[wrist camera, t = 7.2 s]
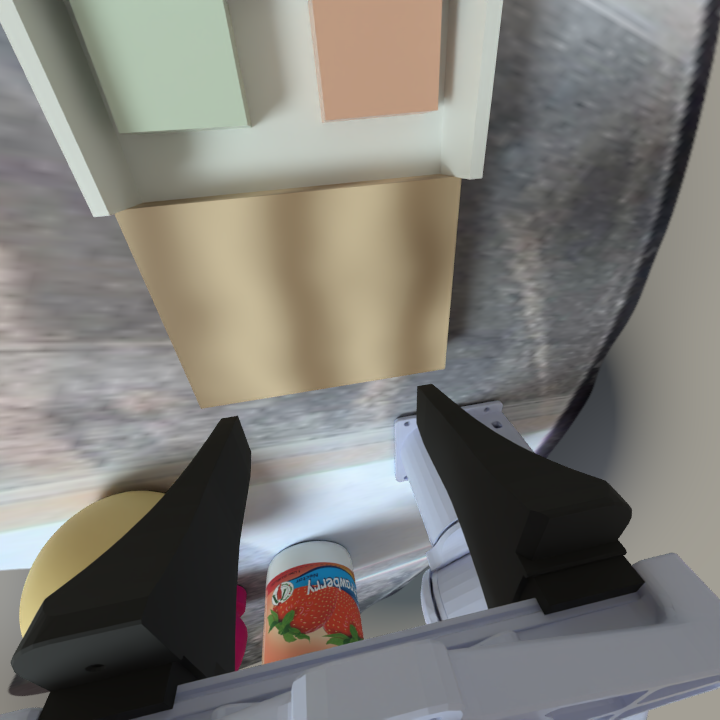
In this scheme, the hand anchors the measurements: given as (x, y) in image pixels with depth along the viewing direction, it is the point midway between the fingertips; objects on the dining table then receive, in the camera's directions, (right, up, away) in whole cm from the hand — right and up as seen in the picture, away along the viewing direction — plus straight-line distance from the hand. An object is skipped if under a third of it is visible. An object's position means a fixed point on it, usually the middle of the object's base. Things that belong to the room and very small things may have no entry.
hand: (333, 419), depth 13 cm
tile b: (-6, +13, -1) cm, 15 cm away
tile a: (+2, +15, 0) cm, 15 cm away
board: (-2, +7, +7) cm, 10 cm away
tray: (-2, +15, +2) cm, 15 cm away
